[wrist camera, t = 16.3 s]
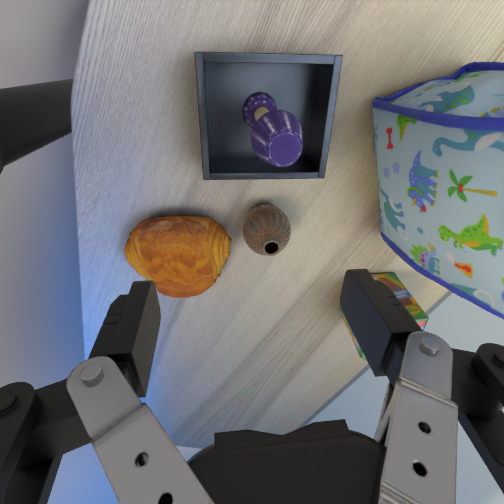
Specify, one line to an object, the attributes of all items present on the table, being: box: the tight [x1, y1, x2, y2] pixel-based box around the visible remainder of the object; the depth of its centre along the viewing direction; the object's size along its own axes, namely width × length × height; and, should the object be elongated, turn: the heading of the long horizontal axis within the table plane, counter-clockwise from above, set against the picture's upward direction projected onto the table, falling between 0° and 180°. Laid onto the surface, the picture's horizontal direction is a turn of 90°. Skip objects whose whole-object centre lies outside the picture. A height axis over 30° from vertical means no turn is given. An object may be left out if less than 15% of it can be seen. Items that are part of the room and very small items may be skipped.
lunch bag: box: [372, 62, 504, 319], centre depth 33 cm, size 22×17×26 cm
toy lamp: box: [243, 92, 303, 167], centre depth 31 cm, size 5×5×17 cm
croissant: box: [125, 215, 232, 298], centre depth 46 cm, size 14×16×8 cm
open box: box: [194, 52, 343, 180], centre depth 36 cm, size 15×13×7 cm
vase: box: [243, 204, 291, 256], centre depth 43 cm, size 7×7×9 cm
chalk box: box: [340, 273, 428, 359], centre depth 51 cm, size 9×9×15 cm
